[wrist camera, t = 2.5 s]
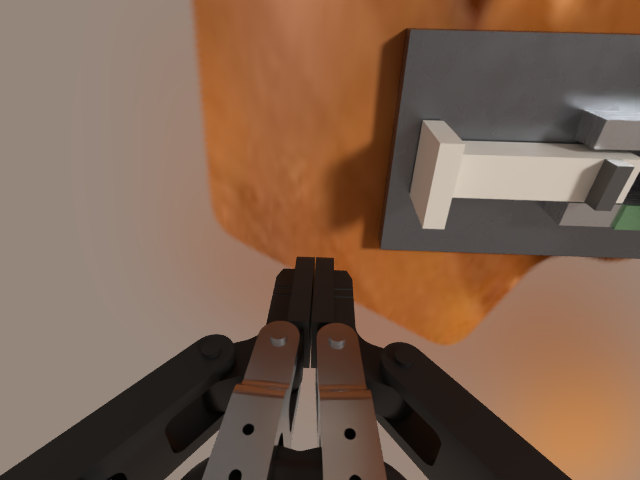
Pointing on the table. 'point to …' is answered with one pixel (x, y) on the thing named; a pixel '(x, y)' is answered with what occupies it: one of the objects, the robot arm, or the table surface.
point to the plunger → (513, 173)
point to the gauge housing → (517, 134)
